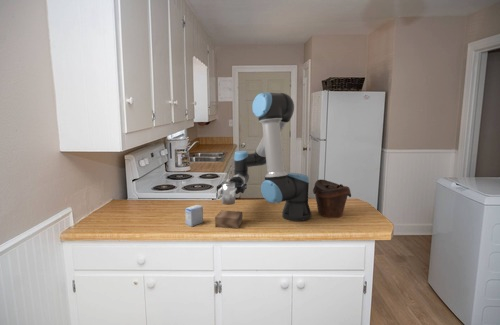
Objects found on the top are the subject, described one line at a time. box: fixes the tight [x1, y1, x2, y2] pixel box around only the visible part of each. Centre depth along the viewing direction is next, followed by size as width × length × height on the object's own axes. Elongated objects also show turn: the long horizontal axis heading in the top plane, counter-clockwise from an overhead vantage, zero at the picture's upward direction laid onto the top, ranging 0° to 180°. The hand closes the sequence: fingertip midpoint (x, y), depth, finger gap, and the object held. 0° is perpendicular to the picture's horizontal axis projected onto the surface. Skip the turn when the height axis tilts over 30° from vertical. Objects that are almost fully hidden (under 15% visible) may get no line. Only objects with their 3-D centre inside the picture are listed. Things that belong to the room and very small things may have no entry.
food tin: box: [221, 180, 236, 206], centre depth 169 cm, size 7×7×10 cm
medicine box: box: [184, 204, 204, 227], centre depth 171 cm, size 8×4×9 cm, turn 141°
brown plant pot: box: [312, 179, 352, 218], centre depth 185 cm, size 18×20×18 cm
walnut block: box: [214, 210, 243, 229], centre depth 171 cm, size 11×11×5 cm
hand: (225, 193), depth 164 cm, fingers closed on food tin, 6 cm apart
